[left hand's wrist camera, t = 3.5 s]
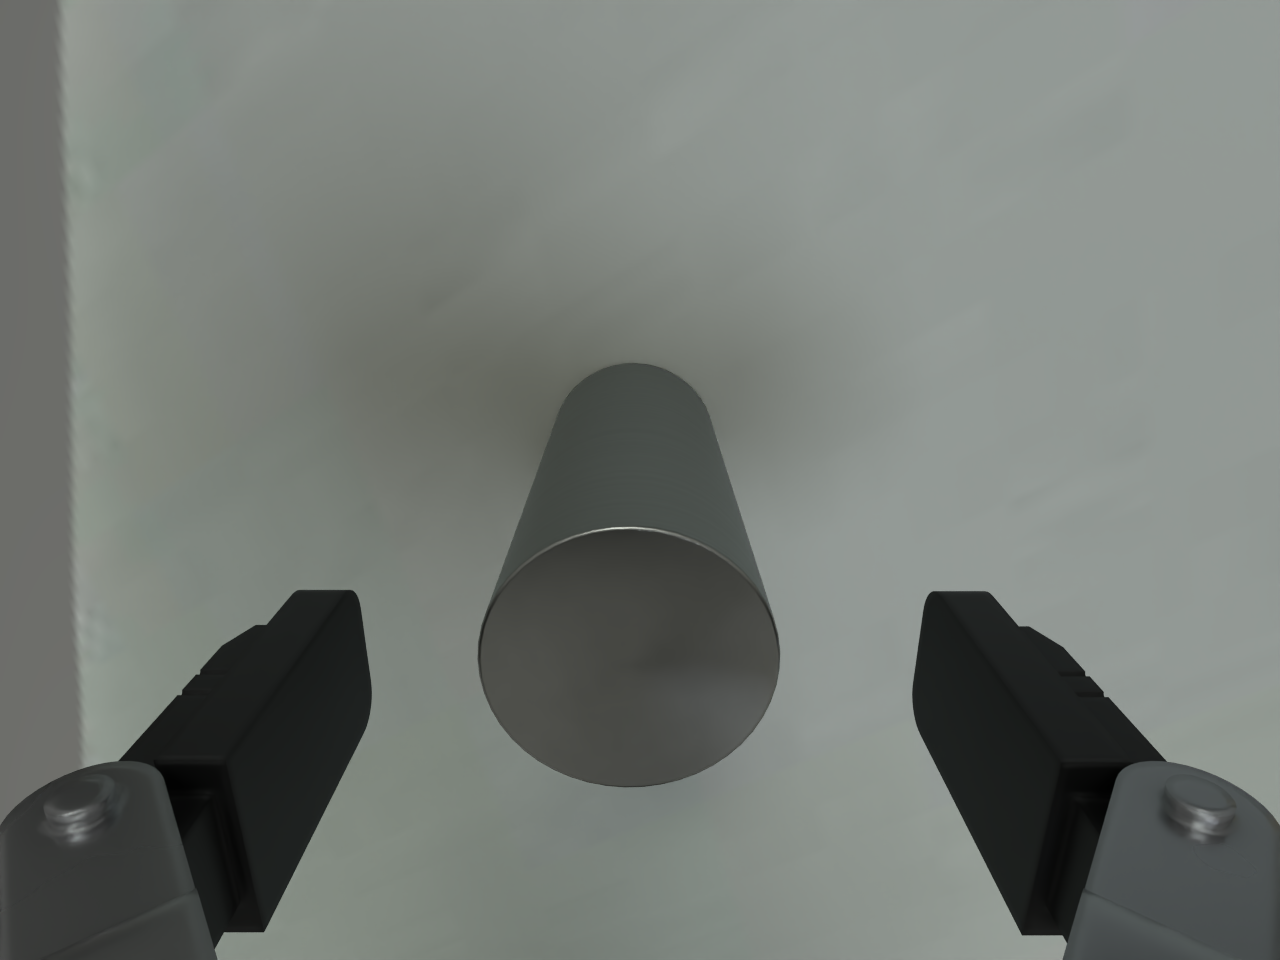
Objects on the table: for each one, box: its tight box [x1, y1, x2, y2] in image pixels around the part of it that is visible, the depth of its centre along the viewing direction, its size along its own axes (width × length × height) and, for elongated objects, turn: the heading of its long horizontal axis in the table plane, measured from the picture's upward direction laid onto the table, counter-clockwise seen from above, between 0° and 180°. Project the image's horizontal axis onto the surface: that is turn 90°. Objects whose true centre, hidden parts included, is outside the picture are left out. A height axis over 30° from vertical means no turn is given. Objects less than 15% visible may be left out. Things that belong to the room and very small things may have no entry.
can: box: [478, 363, 780, 787], centre depth 16 cm, size 4×4×11 cm
